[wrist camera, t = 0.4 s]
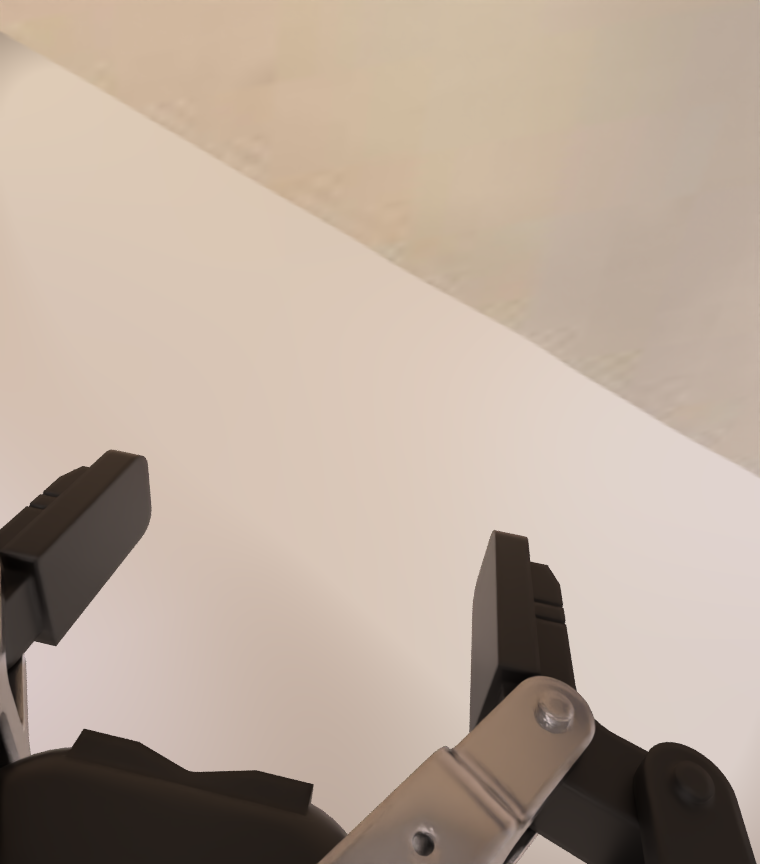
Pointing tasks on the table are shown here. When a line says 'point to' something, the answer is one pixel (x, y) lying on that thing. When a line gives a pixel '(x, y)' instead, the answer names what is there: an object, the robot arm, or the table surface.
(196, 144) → the table surface
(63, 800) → the robot arm
